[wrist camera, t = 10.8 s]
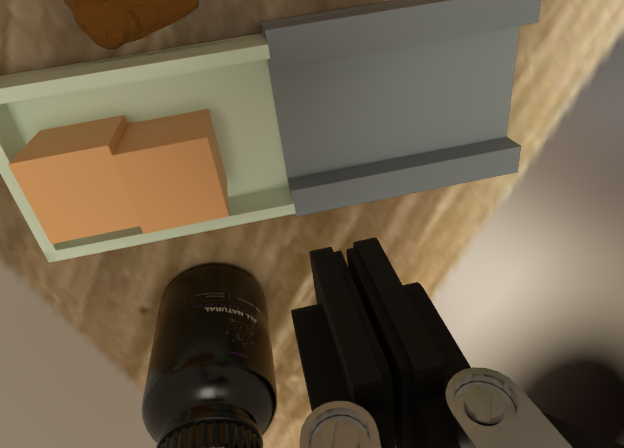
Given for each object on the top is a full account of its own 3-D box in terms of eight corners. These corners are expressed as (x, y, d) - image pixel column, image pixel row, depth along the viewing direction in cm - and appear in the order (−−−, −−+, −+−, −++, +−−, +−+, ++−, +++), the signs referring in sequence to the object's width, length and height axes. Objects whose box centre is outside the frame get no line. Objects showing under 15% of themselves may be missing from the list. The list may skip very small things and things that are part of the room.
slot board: (260, 22, 22) (264, 30, 20) (513, -19, 23) (543, -15, 21) (289, 195, 27) (295, 216, 25) (495, 155, 28) (517, 172, 26)
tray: (-12, 77, 21) (-43, 95, 19) (274, 31, 22) (281, 42, 20) (65, 231, 26) (48, 262, 23) (298, 186, 27) (306, 211, 24)
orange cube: (127, 123, 22) (112, 155, 19) (208, 108, 23) (207, 137, 19) (153, 194, 25) (143, 234, 21) (226, 179, 25) (228, 216, 22)
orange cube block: (39, 130, 22) (8, 164, 18) (123, 114, 22) (107, 145, 19) (73, 202, 24) (51, 244, 21) (150, 187, 24) (140, 225, 21)
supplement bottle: (251, 249, 29) (271, 415, 19) (274, 326, 32) (301, 498, 22) (143, 275, 28) (103, 460, 18) (178, 350, 32) (161, 537, 22)
